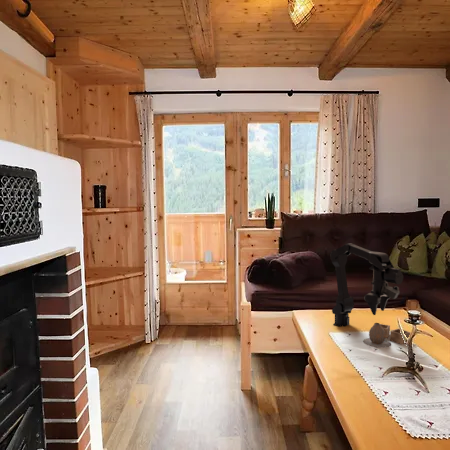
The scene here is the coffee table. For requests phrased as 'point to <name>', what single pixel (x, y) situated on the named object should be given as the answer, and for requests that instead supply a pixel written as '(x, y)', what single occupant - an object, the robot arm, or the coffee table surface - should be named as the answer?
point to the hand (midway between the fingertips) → (378, 312)
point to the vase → (377, 334)
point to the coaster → (383, 345)
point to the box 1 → (386, 330)
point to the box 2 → (398, 336)
